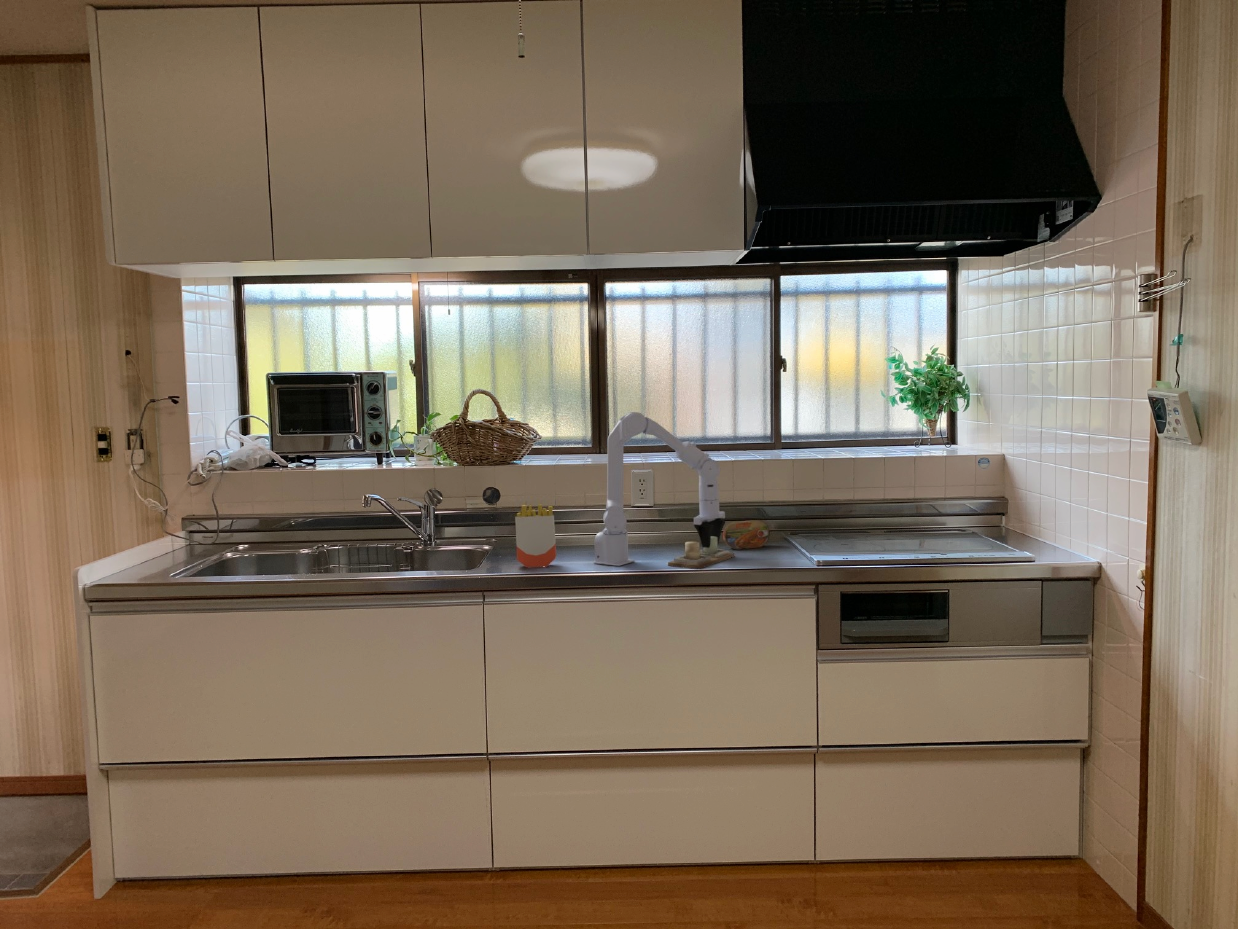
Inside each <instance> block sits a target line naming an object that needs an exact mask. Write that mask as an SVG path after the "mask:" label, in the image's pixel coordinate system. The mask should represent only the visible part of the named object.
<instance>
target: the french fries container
mask: <svg viewBox="0 0 1238 929" xmlns="http://www.w3.org/2000/svg"><path fill="white" fill-rule="evenodd" d="M527 506H528V505H527V504H526V505H525V504H523V505H521V512H518V513H516V516H515V517H514V518H515V519H514V520H515V540H516V541H515V542H516V560H517V562H519V563H521V565H523V566H524V567H525V568H526V567H543V566H545V568H547V567H548V566H549V565H550V564H551V563H553V562H554V560H555V559H556V558H557V547H556V546H557V545H556V544H557V543H556V540H557V539H556V526H555V514H553V510H554V508H553V505H551V506H549V505H548V510H547V508H546V507H545V508H544V507H543V504H538V505H537V514H536V509H533V508H532V505H531V504H530V505H529V506H528V507H527ZM527 509H528V510H527Z"/></svg>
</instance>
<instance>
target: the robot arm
mask: <svg viewBox="0 0 1238 929" xmlns="http://www.w3.org/2000/svg"><path fill="white" fill-rule="evenodd" d="M640 434H645V435H649V436H650V435H651V436H654V437H656V439H658V440H660V441H661V442H663V443H664V444H666V445H667V446H668V447H670V448H671V449H672V450H674V451H675V455H676V458H677V459H678V460H680V461H681V462H683V463H684V464H685V465H687V466H688V467H689V468H691V469H692V470H694V471H695V470H696V472H697V474H698V481H699V482H698V499H699V500H698V504H699V506H698V507H699V514H698V515H697V516H695V517H693V526H694V528H695V530H696V531H697V533H698V536H699V539H700V544H701V547H702V548H704V547H705V548H709V547H710V542H711V536H714V537H717V546H719V543H720V540H721V534H722V530H723V528H724V527H725V524H726V520H725V518H726V512H725V511H722V510H721V511H720V488H719V486H720V485H719V475H720V473H721V468H720V465H719V463H718V462H717V461H716V460H715V459H712V458H711V457H710V454H709V453H708V452H704V451H702V450H701V449H699V448H698V447H697V443H694V441H692V442H691V441H690V440H689V441H688V440H687V441H683V442H682V441H681V440H679V439H678V438H677V437H676V436H675V435H673V434H672V433H671V432H670V431H669V430H667V429H666V428H665V427H664V426H662V425H661V424H659V423H658V422H657V421H655V420H653V419H651V418H649V417H648V416H645V415H644V414H642V413H641V412H636V411H629V412H628V413H625V415H623V416H622V417H621V418H619V420H617V423H616V425H615V426H614V427H613V429H612V431H610V433H609V435H608V437H607V454H606V455H607V459H606V460H607V461H606V462H607V467H606V468H607V469H606V470H607V473H606V476H607V478H606V479H607V480H606V482H607V483H606V485H607V486H606V505H605V511H604V513H603V516H602V518H603V519H602V520H603V521H602V522H603V523H604V526H605V527H604V528H603V529H602V531H598V533H597V534H596V535H595V538H594V541H593V542H594V543H593V544H594V545H593V546H594V561H593V564H597V565H605V566H607V565H608V566H615V567H616V566H617V567H619V566H624V565H627V564H630V563H633V562H635V561H636V560H635V559H631V558H629V538H628V534H629V533H628V529H626V527H627V523H628V522H627V517H626V515H625V512H624V445H625V444H626V443H627V442H629V441H630V440H631V439H632V438H634V437H635V436H638V435H640Z"/></svg>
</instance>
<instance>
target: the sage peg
mask: <svg viewBox="0 0 1238 929" xmlns="http://www.w3.org/2000/svg"><path fill="white" fill-rule="evenodd" d="M718 546H719V545H717V537H714V536H711V542H710V547H709V548H705V547H703V549H704V553H709V554H716V553H718V549H719V548H718Z"/></svg>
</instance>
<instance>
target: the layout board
mask: <svg viewBox="0 0 1238 929" xmlns="http://www.w3.org/2000/svg"><path fill="white" fill-rule="evenodd" d="M731 557H732V558H735V553H734V552H729V550H728V549H719V548H718V553H716V554H709V553H704V548H703V549H700V559H698V560H691V559H686V555H685V554H683V555H681V556H678V557H675V558H673V560H672V561H668V563H667V566H668V567H673V568H674V567H675V568H683V567H684V569H685V568H686V569H694V570H695V569H696V570H701V569H703V568H707V567H708V565H709V566H712V565H714V564H717V562H718V563H720V562H723V561H726V560H729V559H732V558H731Z"/></svg>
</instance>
